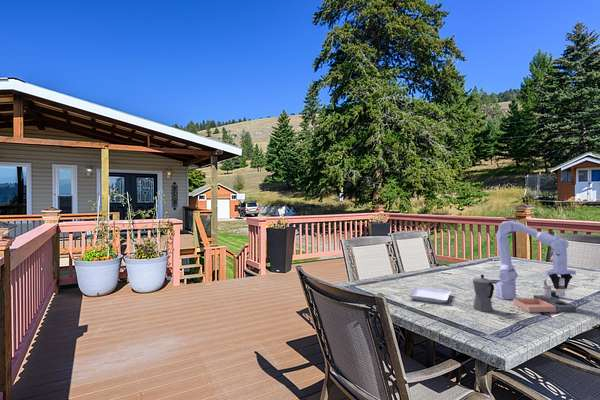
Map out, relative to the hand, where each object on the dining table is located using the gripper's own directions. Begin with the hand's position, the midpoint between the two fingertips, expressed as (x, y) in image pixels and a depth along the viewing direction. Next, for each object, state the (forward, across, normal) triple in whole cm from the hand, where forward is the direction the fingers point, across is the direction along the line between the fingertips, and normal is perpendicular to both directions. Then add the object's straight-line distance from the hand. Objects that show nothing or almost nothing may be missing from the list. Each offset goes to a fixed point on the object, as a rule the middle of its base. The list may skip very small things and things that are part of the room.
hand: (560, 288), depth 177 cm
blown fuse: (+3, 0, 0) cm, 3 cm away
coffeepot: (+11, -39, 0) cm, 40 cm away
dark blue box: (+10, +10, +20) cm, 25 cm away
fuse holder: (+10, 0, +5) cm, 11 cm away
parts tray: (+10, -13, +1) cm, 17 cm away
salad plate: (+11, -59, +22) cm, 64 cm away
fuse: (+10, 0, +10) cm, 14 cm away
